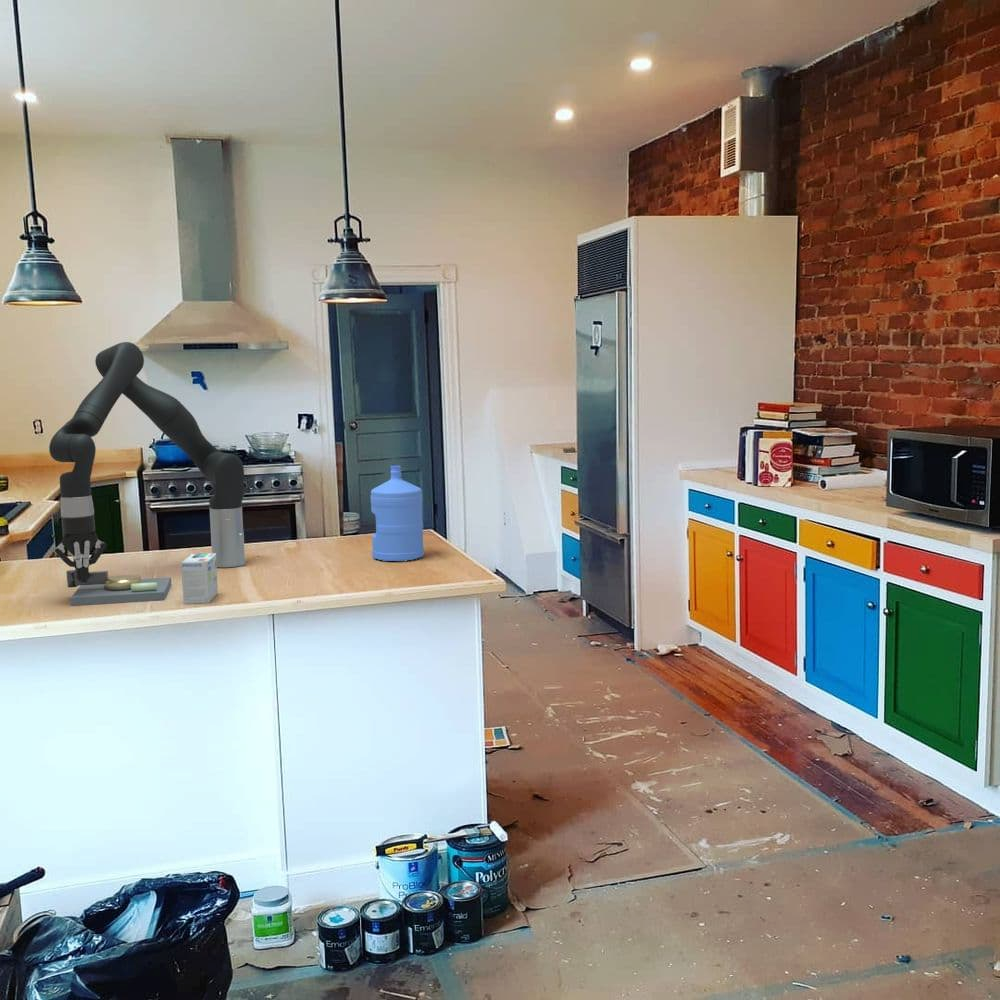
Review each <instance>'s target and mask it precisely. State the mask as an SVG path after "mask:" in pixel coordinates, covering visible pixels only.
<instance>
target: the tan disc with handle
mask: <svg viewBox="0 0 1000 1000" xmlns="http://www.w3.org/2000/svg"><path fill="white" fill-rule="evenodd" d="M141 579H142V577H141V575H138V574H120V575H119V574H118V575H113V576H109V571H108V570H104V571H103V570H102V571H101V570H100V571H89V579H87V582H82V583H80V582H79V581H78V580H77V579H76V573H75V569H69V570H66V583H67V588H75V587H76V588H77V587H80V586H81V585H96V584H104V589H107V590H125V589H131V584H136V583H141Z"/></svg>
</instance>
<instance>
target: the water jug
mask: <svg viewBox="0 0 1000 1000" xmlns="http://www.w3.org/2000/svg"><path fill="white" fill-rule="evenodd" d="M401 467H402V466H401V465H399V464H398V465H396V464H395V465H390V479H389V480H388V481H385V482H384V483H382V484H380V485H378V486H376V487H374V488H373V489H371V491H370V506H371V511H370V512H371V513H372V514H374V515H375V529H376V530H375V531H376V532H375V533H372V539H371V540H372V549H371V550H372V552H371V553H372V558H373V559H374V560H376V559H378V560H377V561H379V560H382V561H381V562H386V561H403V562H406V561H405V560H411V561H414V560H413V559H416V560H418V559H417V558H419V559H421V558H422V557H424V554H425V549H424V519H423V490H422V488H421V487H419V486H417V485H414V484H413V483H410V482H409V481H406V480H404V479H402V471H401V470H402V469H401ZM420 557H421V558H420Z"/></svg>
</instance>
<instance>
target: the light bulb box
mask: <svg viewBox="0 0 1000 1000" xmlns="http://www.w3.org/2000/svg"><path fill="white" fill-rule="evenodd" d="M180 568H181V581H182V582H181V583H182V600H183V602H182V603H183V605H184V604H185V605H186V604H188V605H189V604H190V605H192V604H193V605H194V604H210V603H211V602H212V600H214V598H215V597H216V596H217V595H218V594H219V589H218V588H219V585H218V583H219V581H218V567H217V563H216V553H212V552H211V553H190V554H189V555H188V556H187V557H186V558H185V559H184V560H183V561H181V562H180Z"/></svg>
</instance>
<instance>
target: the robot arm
mask: <svg viewBox="0 0 1000 1000" xmlns="http://www.w3.org/2000/svg"><path fill="white" fill-rule="evenodd" d="M94 364H95V367H96V369H97V372H98V373H99V374H100V376H101V377H102V378H101V380H100V381H99V382H98V383H97V385H95V387H94V388H93V389H92V390H90V391H89V393H87V394H86V395H85V397H84V399H83V400H82V401H81V402H80V404H79V406H78V408H77V409H76V411H75V412H74V415H73V416H72V418H70V420H68V421H67V422H66V423H65V424H64V425H63V426H61V428H59V429H58V430H57V432H55V433H54V435H53V436H52V438H51V440H50V442H49V447H48V448H49V449H48V451H49V455H50V456H51V458H52V459H53V460H55V462H59V463H74V466H73V468H72V470H71V471H68V472H64V473H62V474H60V476H59V490H60V491H59V493H60V505H59V506H60V516H61V518H60V519H61V529H62V531H61V532H62V533H61V534H62V537H61V540H60V543H59V544H58V545H57V547H53V548H52V551H53V553H54V554H55V555H56V556H58V557H59V559H60V560H62V561H63V563H65V564H66V565H67V566H69V567H70V568H74V570H75V573H76V579H77V580H78V581H79V582H80V583H82V582H87V579H89V572H90V571H89V570H90V569H89V567H90V566H91V565H94V564H96V563H97V561H98V560H99V559H100V557H101V556H102V554H103V552H104V551H105V550H106V548H107V546H108V544H107V542H104V541H101V540H100V539H99V537H98V535H97V533H96V524H95V522H96V521H95V508H94V501H93V496H92V485H91V478H92V471H93V466H94V461H95V458H96V451H97V450H96V443H95V442H94V440H93V438H92V437H95V436H97V434H99V432H100V431H101V428H102V427H103V425H104V423H105V421H106V420H107V418H108V416H109V414H110V413H111V411H112V409H113V408H114V406H115V404H116V403H117V401H118V399H119V398H120V397H121V396H122V395H124V396H125V397H126V398H127V399H128V400H130V401H131V403H133V404H134V405H135V406H136V407H137V408H138V409H139V410H140V411H141V412H142V413H143V414H145V415H146V417H147V418H149V420H150V421H152V424H153V425H155V426H156V427H157V428H158V429H159V430H160V431H161V432H162V433H163V434H164V435H165V436H166V437H168V438H169V439H170V440H171V441H172V442H173V443H174V444H175V445H176V446H177V447H178V448H179V449H180V450H181V451H183V452H184V453H185V454H186V455H187V457H189V459H190V460H191V461H192V462H193V464H195V466H196V468H198V470H199V471H200V472H201V474H203V476H204V477H205V478H206V479H207V481H210V482H211V483H214V494H213V495H212V496H211V497H210V498H209V500H208V505H209V507H208V508H209V522H210V523H209V524H210V542H211V553H216V563H217V568H233V567H235V568H236V567H241V566H242V567H243V566H245V564H246V557H245V556H246V554H245V535H244V533H245V531H244V522H243V521H244V520H243V519H244V518H243V500H244V497H245V469H244V464H243V460H241V458H240V457H239V456H238V455H236V454H233V453H229V452H222V451H220V450H219V449H218V448H216V447H215V446H214V445H213V444H212V443H211V442H209V440H207V438H206V437H205V436H204V434H203V433H202V431H201V429H200V427H199V424H198V423H197V422H198V421H197V420H196V419H195V417H194V416H193V414H192V413H191V411H189V410H188V409H187V408H186V406H184V405H183V404H182V403H181V401H179V400H178V399H177V398H175V397H174V396H172V395H171V394H169V393H167V392H164V391H161V390H159V389H157V388H155V387H153V386H151V385H149V384H147V383H145V381H143V380H142V379H140V378H139V377H138V374H140V372H141V371H142V369H143V367H144V364H145V358H144V354H143V352H142V350H141V348H140V347H139V346H137V345H136V344H135V343H133V342H130V341H124V342H123V341H122V342H119V343H117V344H114V345H112V346H110V347H108V348H105V349H104V350H101V351H100V352H99V353H97V355H96V356H95V363H94ZM94 547H95V549H94V551H93V552H92V554H91V555H90V552H91V551H92V550H93V548H94ZM65 549H66V550H67V551H68V552H69V554H71V556H72V560H71V559H70V558H69V557H68V556H67V555H66V554H65V553H66V550H65Z"/></svg>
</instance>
